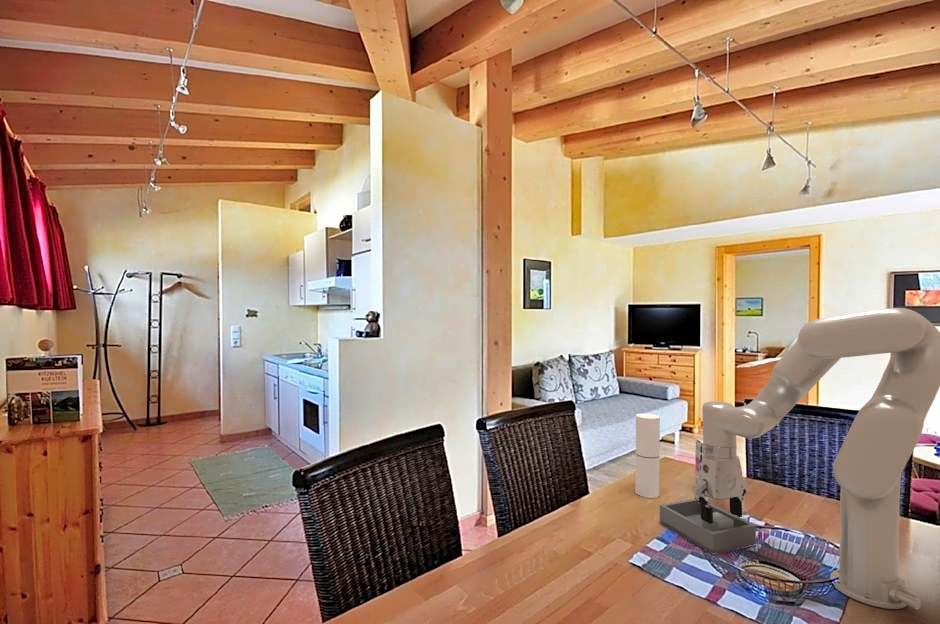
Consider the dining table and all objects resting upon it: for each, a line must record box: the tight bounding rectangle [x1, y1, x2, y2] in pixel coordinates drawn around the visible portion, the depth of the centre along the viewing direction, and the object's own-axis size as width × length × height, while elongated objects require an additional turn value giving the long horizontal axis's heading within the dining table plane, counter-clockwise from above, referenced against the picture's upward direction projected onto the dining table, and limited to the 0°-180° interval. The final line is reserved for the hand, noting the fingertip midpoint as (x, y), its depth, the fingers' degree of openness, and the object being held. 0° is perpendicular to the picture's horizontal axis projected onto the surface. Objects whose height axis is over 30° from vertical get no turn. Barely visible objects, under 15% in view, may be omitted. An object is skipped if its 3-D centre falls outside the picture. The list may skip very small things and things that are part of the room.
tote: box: [659, 498, 757, 554], centre depth 125 cm, size 18×14×5 cm
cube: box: [702, 512, 734, 532], centre depth 121 cm, size 5×5×5 cm
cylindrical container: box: [634, 412, 661, 499], centre depth 151 cm, size 7×7×25 cm
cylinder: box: [712, 498, 730, 513], centre depth 138 cm, size 5×5×7 cm
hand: (721, 518), depth 120 cm, fingers open, 9 cm apart
